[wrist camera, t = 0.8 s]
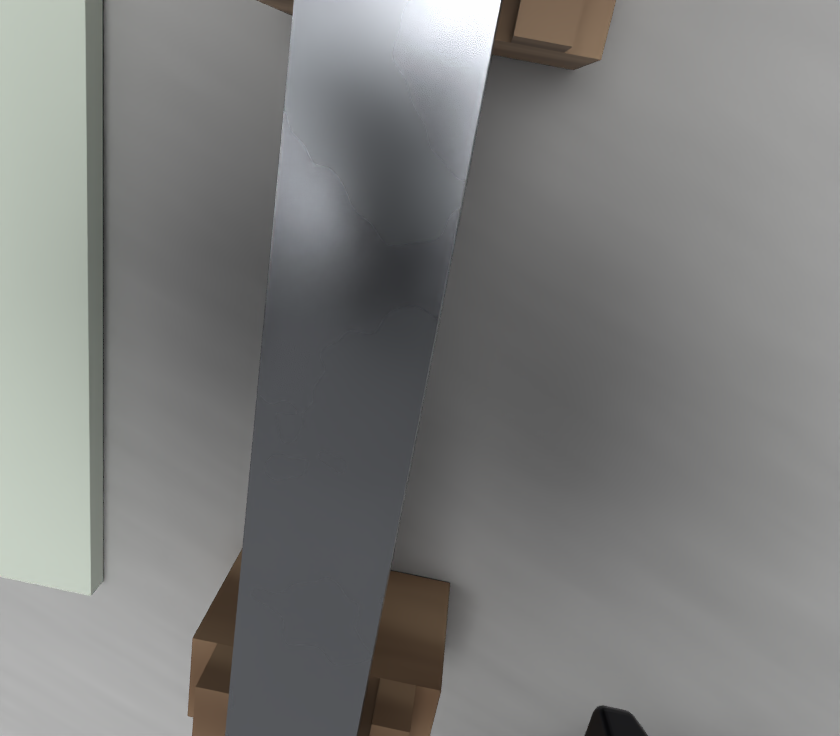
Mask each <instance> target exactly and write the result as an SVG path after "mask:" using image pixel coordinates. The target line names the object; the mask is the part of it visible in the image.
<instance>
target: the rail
mask: <svg viewBox="0 0 840 736" xmlns="http://www.w3.org/2000/svg"><path fill="white" fill-rule="evenodd" d="M502 2H503V0H294V5H293V16H292V26H291V37H290V48H289V58H288V69H287V80H286V90H285V101H284V112H283V122H282V133H281V144H280V154H279V165H278V176H277V186H276V197H275V208H274V218H273V229H272V240H271V250H270V261H269V272H268V282H267V293H266V304H265V314H264V325H263V336H262V346H261V357H260V368H259V378H258V389H257V400H256V410H255V421H254V432H253V442H252V453H251V464H250V474H249V485H248V496H247V506H246V517H245V528H244V538H243V549H242V560H241V570H240V581H239V592H238V602H237V613H236V624H235V634H234V645H233V655H232V666H231V677H230V687H229V698H228V709H227V719H226V730H225V736H358V732H359V727H360V722H361V717H362V712H363V707H364V702H365V697H366V692H367V687H368V681H369V676H370V671H371V666H372V661H373V656H374V651H375V646H376V641H377V636H378V631H379V626H380V621H381V616H382V611H383V605H384V600H385V595H386V590H387V585H388V580H389V575H390V570H391V565H392V560H393V555H394V550H395V545H396V540H397V535H398V529H399V524H400V519H401V514H402V509H403V504H404V499H405V494H406V489H407V484H408V479H409V474H410V469H411V464H412V459H413V453H414V448H415V443H416V438H417V433H418V428H419V423H420V418H421V413H422V408H423V403H424V398H425V393H426V388H427V382H428V377H429V372H430V367H431V362H432V357H433V352H434V347H435V342H436V337H437V332H438V327H439V322H440V317H441V312H442V306H443V301H444V296H445V291H446V286H447V281H448V276H449V271H450V266H451V261H452V256H453V251H454V246H455V241H456V236H457V230H458V225H459V220H460V215H461V210H462V205H463V200H464V195H465V190H466V185H467V180H468V175H469V170H470V165H471V159H472V154H473V149H474V144H475V139H476V134H477V129H478V124H479V119H480V114H481V109H482V104H483V99H484V94H485V89H486V83H487V78H488V73H489V68H490V63H491V58H492V53H493V48H494V43H495V38H496V33H497V28H498V23H499V18H500V13H501V7H502Z"/></svg>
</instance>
